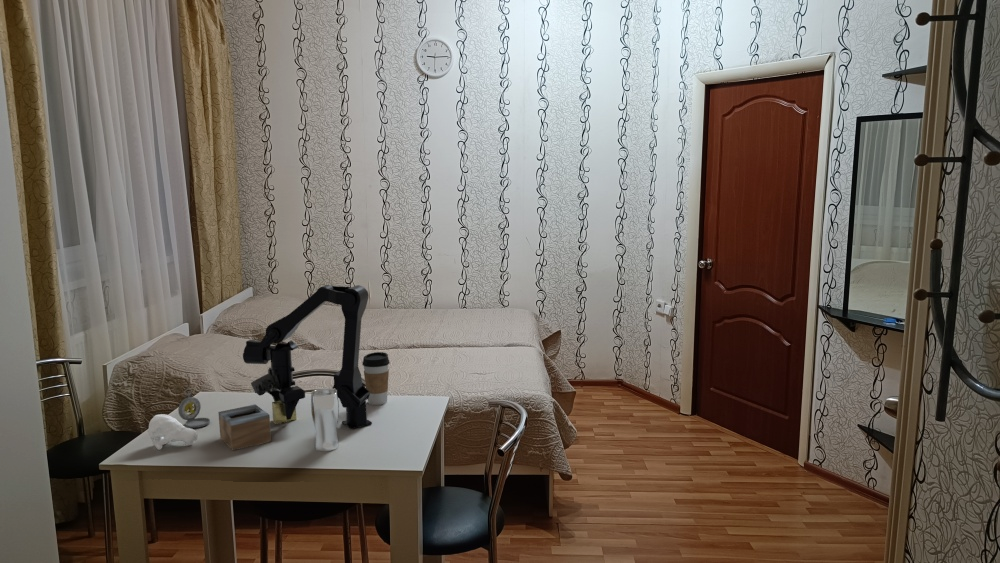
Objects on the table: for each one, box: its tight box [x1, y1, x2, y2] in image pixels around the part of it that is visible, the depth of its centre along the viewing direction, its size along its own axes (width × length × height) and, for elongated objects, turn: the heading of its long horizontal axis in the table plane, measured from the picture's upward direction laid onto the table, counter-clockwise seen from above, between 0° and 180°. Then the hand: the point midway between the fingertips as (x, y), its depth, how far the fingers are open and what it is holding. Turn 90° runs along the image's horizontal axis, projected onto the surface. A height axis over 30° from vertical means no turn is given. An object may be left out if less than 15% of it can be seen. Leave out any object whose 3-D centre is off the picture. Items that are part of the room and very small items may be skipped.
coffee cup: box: [361, 351, 390, 406], centre depth 226 cm, size 8×8×15 cm
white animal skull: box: [147, 413, 198, 451], centre depth 193 cm, size 6×8×12 cm
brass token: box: [271, 401, 297, 425], centre depth 211 cm, size 2×6×6 cm, turn 127°
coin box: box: [217, 404, 272, 451], centre depth 196 cm, size 11×10×8 cm
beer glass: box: [310, 387, 340, 452], centre depth 189 cm, size 7×7×15 cm
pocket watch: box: [177, 388, 211, 429], centre depth 209 cm, size 8×8×10 cm
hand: (284, 416), depth 211 cm, fingers open, 6 cm apart
